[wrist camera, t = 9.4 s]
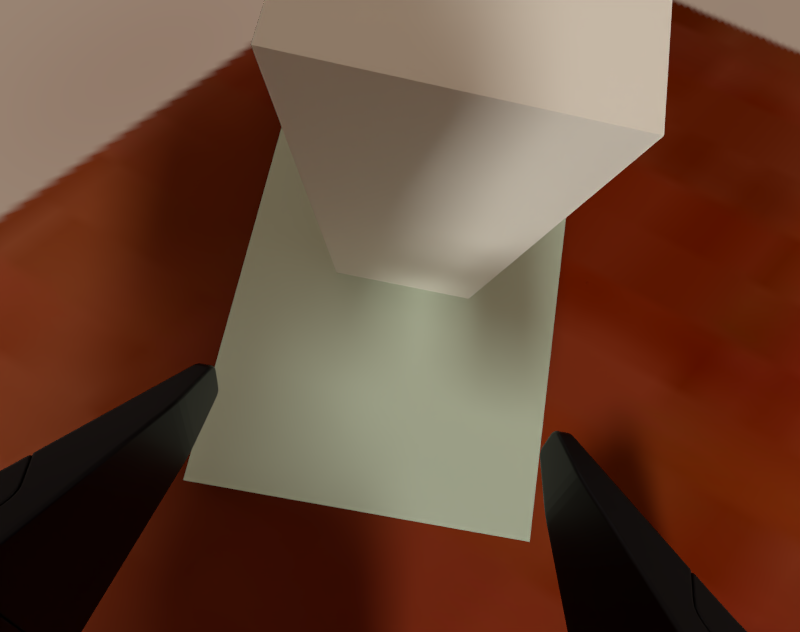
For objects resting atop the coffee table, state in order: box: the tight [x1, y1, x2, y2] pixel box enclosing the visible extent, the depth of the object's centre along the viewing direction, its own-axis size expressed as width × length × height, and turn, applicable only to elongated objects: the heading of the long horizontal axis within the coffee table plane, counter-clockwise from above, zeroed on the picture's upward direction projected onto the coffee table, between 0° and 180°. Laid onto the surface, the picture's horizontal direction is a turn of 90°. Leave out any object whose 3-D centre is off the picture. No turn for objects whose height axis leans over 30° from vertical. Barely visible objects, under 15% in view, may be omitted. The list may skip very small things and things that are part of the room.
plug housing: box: [251, 0, 672, 299], centre depth 11 cm, size 5×6×11 cm
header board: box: [183, 127, 566, 542], centre depth 14 cm, size 18×14×5 cm
